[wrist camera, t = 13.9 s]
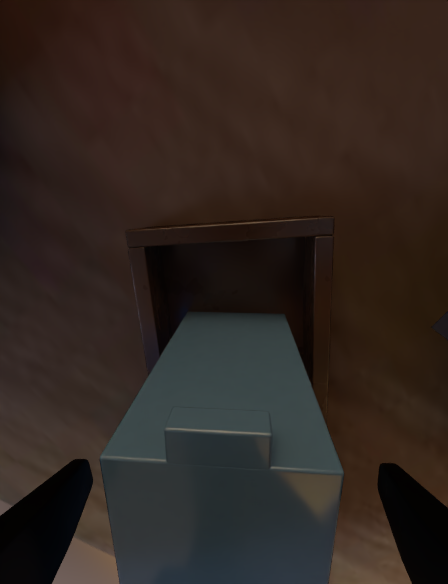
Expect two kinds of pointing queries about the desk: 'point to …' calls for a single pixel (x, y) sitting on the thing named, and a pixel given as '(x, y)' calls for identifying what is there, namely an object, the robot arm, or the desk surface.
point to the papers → (442, 326)
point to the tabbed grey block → (224, 462)
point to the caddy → (238, 280)
